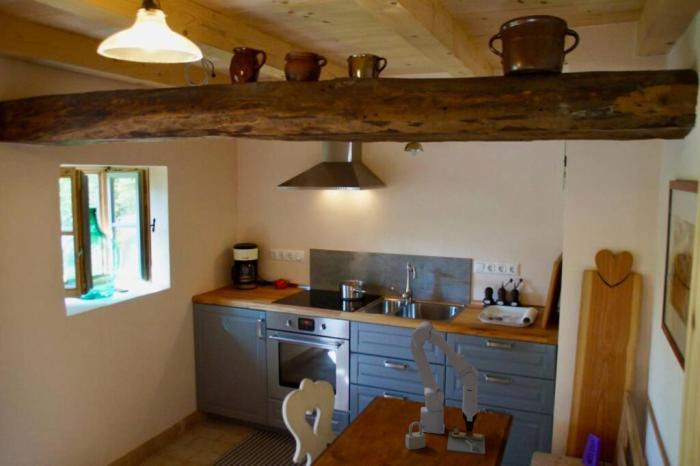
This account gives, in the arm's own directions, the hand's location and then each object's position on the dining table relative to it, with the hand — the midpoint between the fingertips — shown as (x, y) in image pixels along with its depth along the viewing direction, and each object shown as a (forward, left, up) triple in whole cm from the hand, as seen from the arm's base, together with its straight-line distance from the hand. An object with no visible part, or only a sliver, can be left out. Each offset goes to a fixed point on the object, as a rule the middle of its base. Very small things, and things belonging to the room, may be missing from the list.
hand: (469, 431), depth 229 cm
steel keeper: (+1, -13, -1) cm, 13 cm away
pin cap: (-5, -4, +1) cm, 7 cm away
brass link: (-1, -4, -1) cm, 4 cm away
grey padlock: (-20, -15, -2) cm, 25 cm away
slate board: (-1, -8, -1) cm, 8 cm away
